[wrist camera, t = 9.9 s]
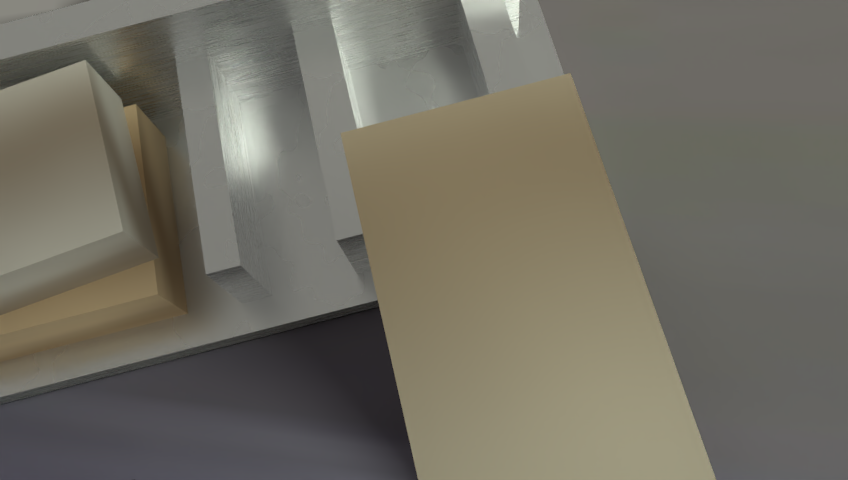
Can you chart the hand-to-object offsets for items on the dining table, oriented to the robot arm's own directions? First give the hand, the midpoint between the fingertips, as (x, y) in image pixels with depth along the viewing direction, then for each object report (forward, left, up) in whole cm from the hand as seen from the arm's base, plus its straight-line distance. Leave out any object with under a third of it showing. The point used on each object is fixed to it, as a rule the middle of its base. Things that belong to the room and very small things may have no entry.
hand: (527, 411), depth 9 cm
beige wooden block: (+1, 0, -10) cm, 10 cm away
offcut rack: (+5, +9, -10) cm, 14 cm away
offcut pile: (+2, +13, -9) cm, 16 cm away
